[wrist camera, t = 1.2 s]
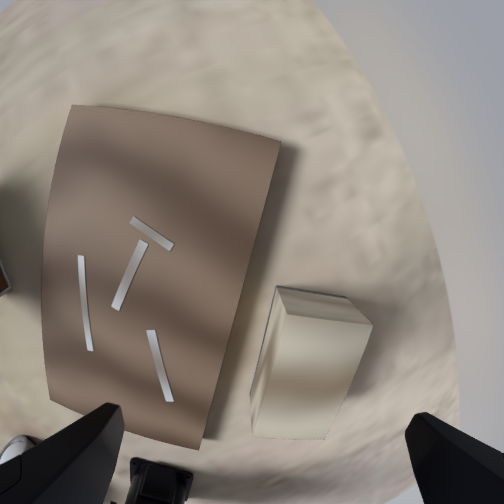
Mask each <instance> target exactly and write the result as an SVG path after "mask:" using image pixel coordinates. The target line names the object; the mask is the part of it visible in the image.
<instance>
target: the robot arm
mask: <svg viewBox="0 0 504 504" xmlns="http://www.w3.org/2000/svg"><path fill="white" fill-rule="evenodd" d="M124 429H125V424H124V419H123V414H122V409H121V407H120V405H118V404H114V403H110V402H106V403H104V404H102V405H101V406H99V407H98V408H96V409H95V410H93V411H91V412H90V413H88V414H87V415H85V416H83V417H82V418H80V419H78V420H77V421H75V422H74V423H72V424H70V425H69V426H67V427H65V428H64V429H62V430H60V431H59V432H57V433H55V434H54V435H52V436H50V437H49V438H47V439H45V440H44V441H42V442H40V443H38V444H37V445H35V446H33V447H31V448H30V449H28V450H26V451H24V452H23V453H22V454H19V455H17V456H15V457H14V458H12V459H10V460H8V461H6V462H4V463H2V464H0V504H103V501H104V498H105V496H106V493H107V490H108V487H109V485H110V482H111V479H112V477H113V474H114V471H115V467H116V463H117V458H118V454H119V450H120V446H121V442H122V437H123V433H124ZM405 439H406V443H407V447H408V451H409V455H410V460H411V464H412V468H413V472H414V475H415V478H416V481H417V484H418V487H419V490H420V492H421V495H422V498H423V502H424V504H504V453H501V452H500V451H498V450H496V449H494V448H492V447H490V446H488V445H486V444H485V443H482V442H481V441H479V440H477V439H475V438H473V437H471V436H469V435H467V434H466V433H464V432H462V431H460V430H458V429H456V428H454V427H453V426H451V425H449V424H447V423H445V422H443V421H442V420H440V419H438V418H436V417H435V416H433V415H431V414H429V413H427V412H422V413H417V414H415V415H414V416H413V418H412V420H411V422H410V424H409V425H408V427H407V429H406V431H405ZM193 476H194V475H193V474H192V473H190V472H186V471H181V470H177V469H173V468H169V467H165V466H161V465H157V464H153V463H150V462H146V461H143V460H139V459H136V458H131V460H130V481H131V486H130V489H129V492H128V495H127V499H126V502H125V504H184V502H185V501H187V499H188V495H189V492H190V488H191V484H192V481H193ZM110 504H116V502H113V501H111V503H110Z"/></svg>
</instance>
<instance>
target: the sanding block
mask: <svg viewBox="0 0 504 504" xmlns="http://www.w3.org/2000/svg"><path fill="white" fill-rule="evenodd" d="M372 328H373V324H372V323H371V322H370V321H369V320H368V319H367V318H366V317H365V316H364V315H363V314H362V313H361V312H360V311H359V310H358V309H357V308H356V307H355V306H354V305H353V304H352V303H351V302H350V301H349V300H348V299H347V298H346V297H344V296H337V295H331V294H324V293H318V292H312V291H306V290H299V289H293V288H287V287H281V286H276V287H275V292H274V296H273V300H272V305H271V309H270V313H269V317H268V322H267V326H266V330H265V334H264V338H263V343H262V347H261V351H260V355H259V359H258V363H257V367H256V371H255V375H254V379H253V383H252V387H251V391H250V408H251V424H252V437H259V438H272V439H293V440H325V438H326V437H327V435H328V433H329V431H330V429H331V427H332V425H333V422H334V420H335V418H336V416H337V414H338V412H339V410H340V408H341V406H342V403H343V401H344V399H345V397H346V394H347V392H348V390H349V388H350V385H351V383H352V380H353V378H354V376H355V373H356V371H357V368H358V366H359V363H360V361H361V358H362V356H363V353H364V350H365V348H366V345H367V342H368V339H369V337H370V334H371V331H372Z"/></svg>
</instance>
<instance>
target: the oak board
mask: <svg viewBox="0 0 504 504" xmlns="http://www.w3.org/2000/svg"><path fill="white" fill-rule="evenodd" d="M280 145H281V141H278V140H274V139H270V138H267V137H263V136H259V135H255V134H252V133H248V132H244V131H240V130H235V129H231V128H227V127H222V126H218V125H213V124H209V123H204V122H199V121H194V120H189V119H184V118H178V117H172V116H167V115H160V114H154V113H147V112H140V111H133V110H125V109H116V108H107V107H96V106H84V105H72V106H71V109H70V112H69V116H68V119H67V122H66V126H65V129H64V133H63V136H62V140H61V144H60V148H59V152H58V156H57V160H56V165H55V169H54V174H53V179H52V185H51V190H50V196H49V202H48V209H47V216H46V224H45V233H44V244H43V257H42V278H41V315H42V336H43V349H44V359H45V368H46V376H47V383H48V389H49V395H50V400H52V401H54V402H56V403H58V404H60V405H62V406H64V407H66V408H69V409H71V410H73V411H75V412H78V413H80V414H82V415H87V414H88V413H90V412H91V411H93V410H95V409H96V408H98V407H99V406H101V405H102V404H104V403H106V402H110V403H114V404H118V405H120V407H121V409H122V414H123V419H124V424H125V429H124V430H125V431H128V432H131V433H134V434H137V435H140V436H144V437H147V438H150V439H154V440H158V441H161V442H165V443H169V444H173V445H177V446H181V447H186V448H190V449H195V450H199V448H200V444H201V441H202V437H203V433H204V429H205V426H206V422H207V418H208V414H209V411H210V407H211V403H212V399H213V396H214V392H215V388H216V384H217V381H218V377H219V373H220V369H221V366H222V362H223V358H224V354H225V351H226V347H227V343H228V339H229V336H230V332H231V328H232V324H233V321H234V317H235V313H236V309H237V306H238V302H239V298H240V295H241V291H242V287H243V283H244V280H245V276H246V272H247V268H248V265H249V261H250V257H251V253H252V250H253V246H254V242H255V238H256V235H257V231H258V227H259V223H260V220H261V216H262V212H263V208H264V205H265V201H266V197H267V193H268V190H269V186H270V182H271V179H272V175H273V171H274V167H275V164H276V160H277V156H278V152H279V149H280Z"/></svg>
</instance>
